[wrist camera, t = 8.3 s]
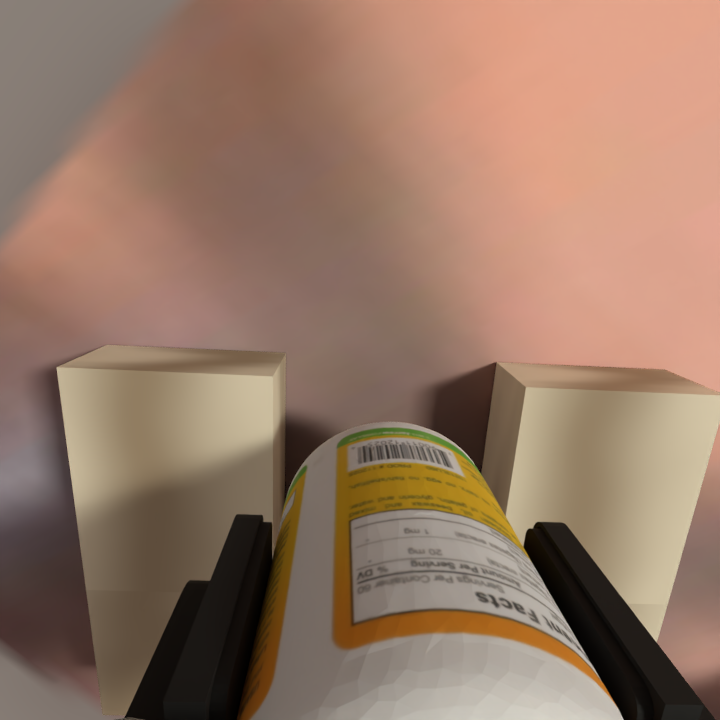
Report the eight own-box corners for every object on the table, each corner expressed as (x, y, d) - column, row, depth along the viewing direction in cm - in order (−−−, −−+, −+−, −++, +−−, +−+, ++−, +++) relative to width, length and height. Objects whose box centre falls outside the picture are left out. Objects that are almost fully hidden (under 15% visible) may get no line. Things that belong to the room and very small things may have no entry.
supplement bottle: (365, 622, 13) (417, 1617, 4) (243, 493, 12) (-156, 1508, 2) (522, 523, 12) (1094, 1448, 3) (410, 374, 11) (787, 1170, 2)
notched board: (664, 369, 15) (727, 395, 12) (595, 657, 18) (634, 723, 15) (106, 345, 14) (56, 367, 12) (137, 648, 17) (102, 715, 15)
